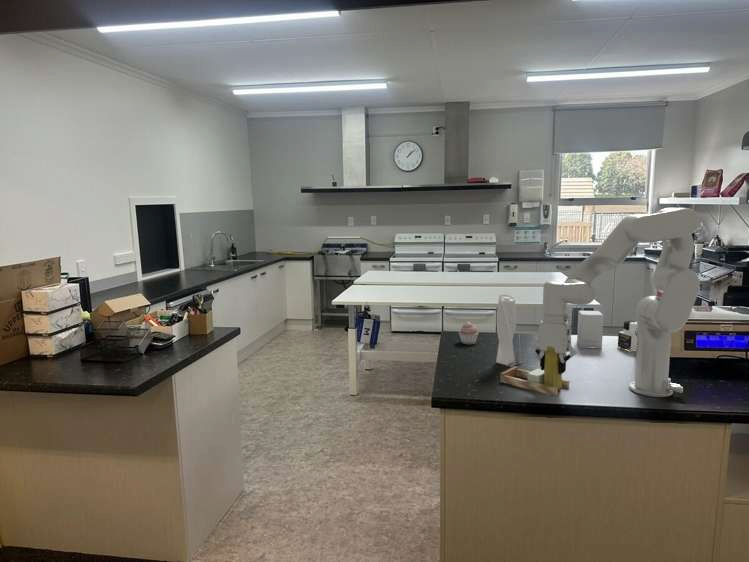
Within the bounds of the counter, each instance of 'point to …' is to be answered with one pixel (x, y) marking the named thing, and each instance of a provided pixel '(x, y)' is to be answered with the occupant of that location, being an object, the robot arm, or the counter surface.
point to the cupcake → (468, 333)
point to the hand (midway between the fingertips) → (552, 370)
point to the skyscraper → (507, 332)
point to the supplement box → (590, 329)
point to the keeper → (536, 376)
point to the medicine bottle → (628, 336)
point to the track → (514, 371)
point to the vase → (552, 369)
